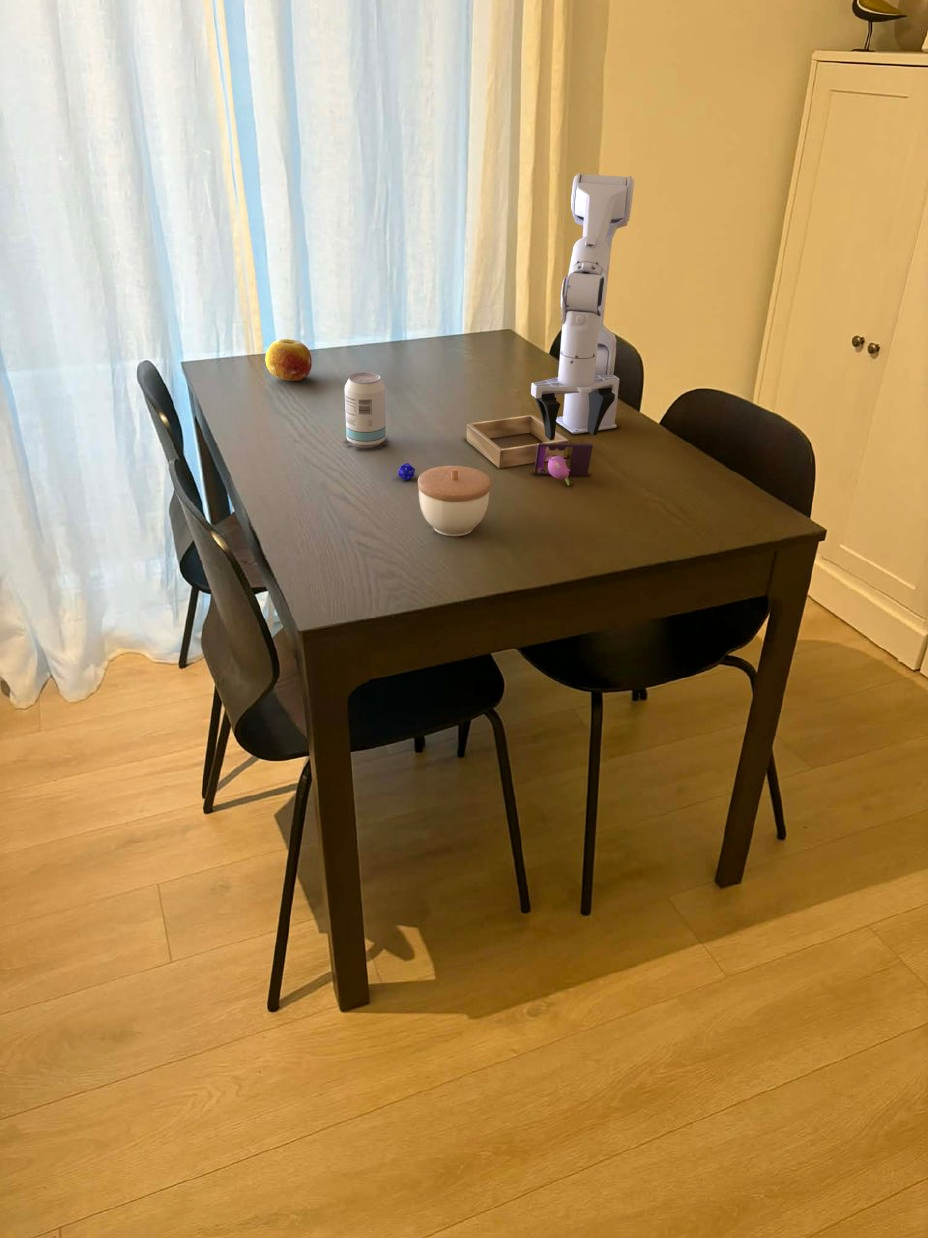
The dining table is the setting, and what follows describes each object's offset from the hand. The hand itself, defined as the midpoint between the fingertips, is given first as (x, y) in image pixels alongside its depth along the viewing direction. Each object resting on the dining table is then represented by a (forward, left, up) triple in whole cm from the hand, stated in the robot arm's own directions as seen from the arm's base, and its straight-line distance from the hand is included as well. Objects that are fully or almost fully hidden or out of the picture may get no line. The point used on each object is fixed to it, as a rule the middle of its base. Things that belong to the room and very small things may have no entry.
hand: (570, 435), depth 160 cm
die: (+25, -10, -8) cm, 28 cm away
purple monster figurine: (+1, 0, -8) cm, 8 cm away
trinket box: (+25, +9, -8) cm, 28 cm away
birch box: (+2, -15, -8) cm, 17 cm away
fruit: (+29, -65, -8) cm, 71 cm away
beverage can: (+26, -27, -8) cm, 38 cm away
